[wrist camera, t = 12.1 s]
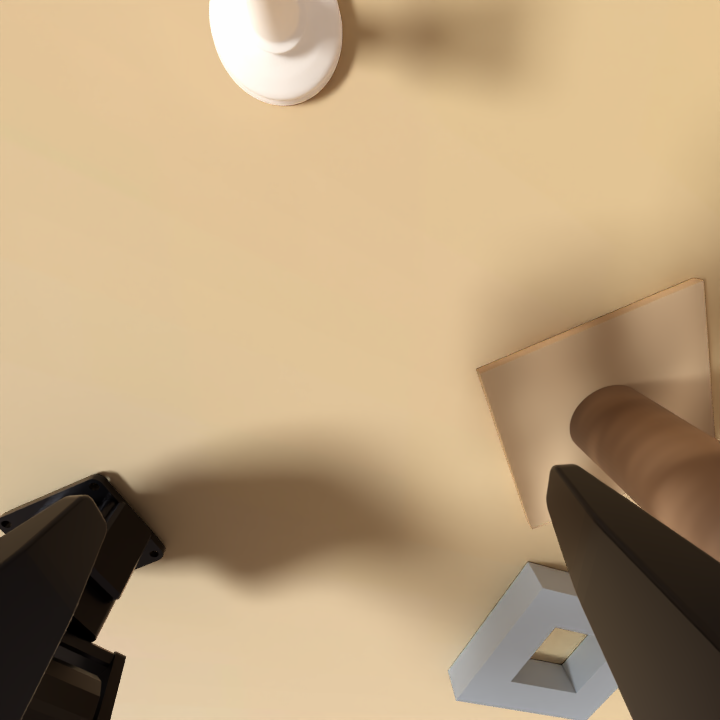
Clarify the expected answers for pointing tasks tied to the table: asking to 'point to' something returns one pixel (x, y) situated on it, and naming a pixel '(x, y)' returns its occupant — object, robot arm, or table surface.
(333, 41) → the chess piece
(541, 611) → the holder block
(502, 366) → the wooden coaster
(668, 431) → the walnut dowel
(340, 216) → the table surface
